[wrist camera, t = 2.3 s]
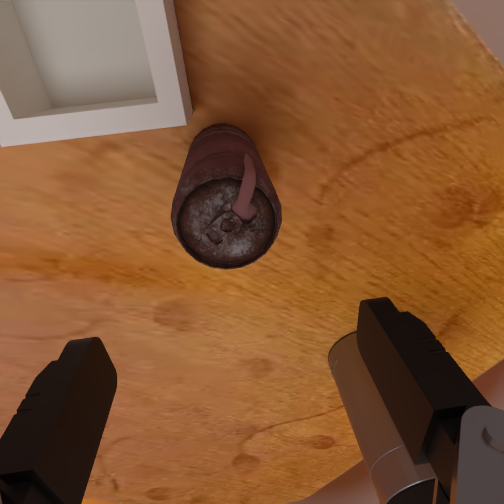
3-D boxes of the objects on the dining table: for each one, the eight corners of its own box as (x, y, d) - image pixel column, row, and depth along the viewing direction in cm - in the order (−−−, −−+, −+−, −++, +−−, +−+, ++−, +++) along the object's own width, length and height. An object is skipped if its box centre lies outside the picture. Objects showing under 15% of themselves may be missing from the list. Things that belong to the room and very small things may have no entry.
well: (156, -92, 20) (134, -151, 15) (193, 112, 26) (186, 125, 21) (-35, -73, 20) (-134, -127, 14) (47, 128, 26) (1, 146, 20)
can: (265, 129, 28) (302, 180, 16) (247, 196, 31) (267, 282, 19) (195, 111, 26) (178, 151, 14) (184, 183, 29) (162, 266, 17)
